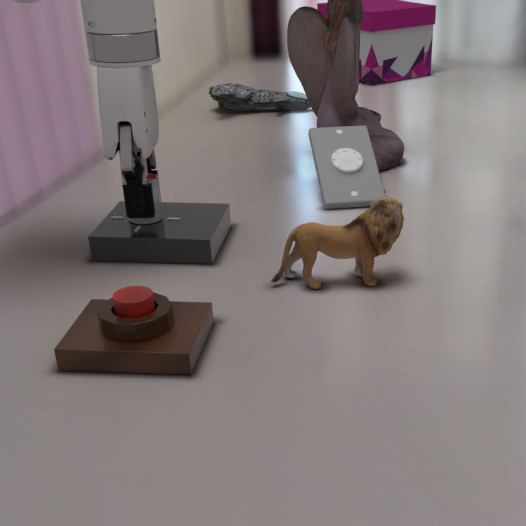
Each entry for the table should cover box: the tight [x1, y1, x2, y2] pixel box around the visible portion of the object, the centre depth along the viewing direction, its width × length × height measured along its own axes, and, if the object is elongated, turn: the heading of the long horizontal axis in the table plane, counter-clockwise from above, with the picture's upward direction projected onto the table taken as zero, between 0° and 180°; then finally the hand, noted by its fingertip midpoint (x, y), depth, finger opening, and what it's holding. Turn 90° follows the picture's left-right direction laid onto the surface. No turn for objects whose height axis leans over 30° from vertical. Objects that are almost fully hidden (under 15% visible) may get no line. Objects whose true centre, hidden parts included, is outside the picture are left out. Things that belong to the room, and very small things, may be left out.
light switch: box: [307, 126, 387, 210], centre depth 113 cm, size 8×6×14 cm
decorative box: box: [316, 0, 437, 86], centre depth 183 cm, size 19×19×15 cm
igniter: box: [53, 291, 215, 376], centre depth 74 cm, size 12×10×4 cm
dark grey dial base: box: [87, 200, 232, 265], centre depth 96 cm, size 14×12×3 cm
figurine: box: [286, 0, 405, 172], centre depth 121 cm, size 18×15×25 cm
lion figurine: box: [270, 196, 405, 290], centre depth 86 cm, size 15×5×9 cm, turn 104°
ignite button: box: [111, 285, 155, 318], centre depth 73 cm, size 4×4×2 cm
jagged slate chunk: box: [208, 82, 311, 113], centre depth 154 cm, size 16×20×5 cm
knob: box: [128, 173, 163, 224], centre depth 94 cm, size 4×4×5 cm
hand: (144, 208), depth 95 cm, fingers closed on knob, 4 cm apart
